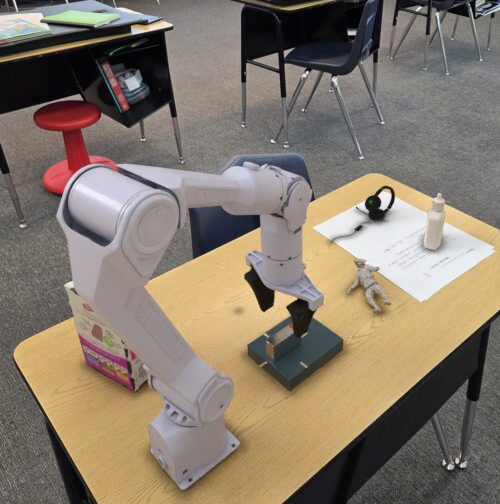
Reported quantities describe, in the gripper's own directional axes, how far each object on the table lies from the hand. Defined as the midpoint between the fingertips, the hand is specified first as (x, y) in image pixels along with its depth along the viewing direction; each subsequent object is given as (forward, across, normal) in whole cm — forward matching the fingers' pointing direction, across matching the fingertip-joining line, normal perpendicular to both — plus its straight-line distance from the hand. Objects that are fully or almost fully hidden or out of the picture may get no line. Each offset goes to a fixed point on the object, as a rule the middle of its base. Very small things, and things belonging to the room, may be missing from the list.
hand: (283, 320), depth 83 cm
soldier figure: (+9, +1, -22) cm, 24 cm away
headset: (+9, +18, -39) cm, 44 cm away
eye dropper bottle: (+9, +2, -44) cm, 45 cm away
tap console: (+9, 0, -2) cm, 9 cm away
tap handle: (+6, 0, 0) cm, 6 cm away
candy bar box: (+9, +17, +20) cm, 27 cm away
